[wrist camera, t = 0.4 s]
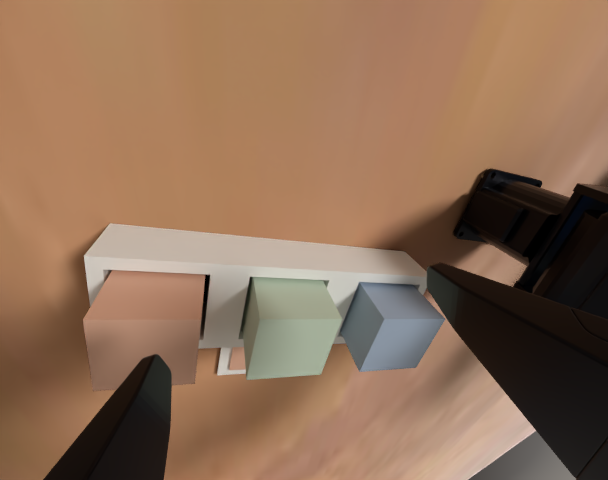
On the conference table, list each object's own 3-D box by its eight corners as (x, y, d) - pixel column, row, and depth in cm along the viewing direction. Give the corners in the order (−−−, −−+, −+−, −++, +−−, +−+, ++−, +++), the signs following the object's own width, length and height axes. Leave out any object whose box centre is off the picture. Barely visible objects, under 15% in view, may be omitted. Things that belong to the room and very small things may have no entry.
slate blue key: (405, 276, 24) (445, 319, 19) (384, 320, 26) (415, 367, 21) (353, 273, 22) (384, 319, 18) (335, 321, 24) (359, 371, 20)
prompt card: (299, 325, 27) (300, 330, 26) (286, 367, 29) (287, 373, 29) (224, 326, 24) (224, 332, 24) (217, 371, 27) (217, 378, 26)
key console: (404, 251, 26) (432, 277, 22) (377, 311, 29) (398, 341, 25) (110, 223, 18) (83, 255, 15) (116, 308, 21) (95, 351, 18)
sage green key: (318, 271, 21) (342, 319, 17) (302, 321, 23) (320, 374, 19) (251, 267, 19) (259, 319, 15) (241, 321, 21) (246, 379, 17)
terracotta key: (206, 264, 18) (201, 319, 14) (200, 321, 20) (194, 383, 16) (118, 259, 17) (82, 319, 12) (122, 321, 19) (93, 391, 15)
